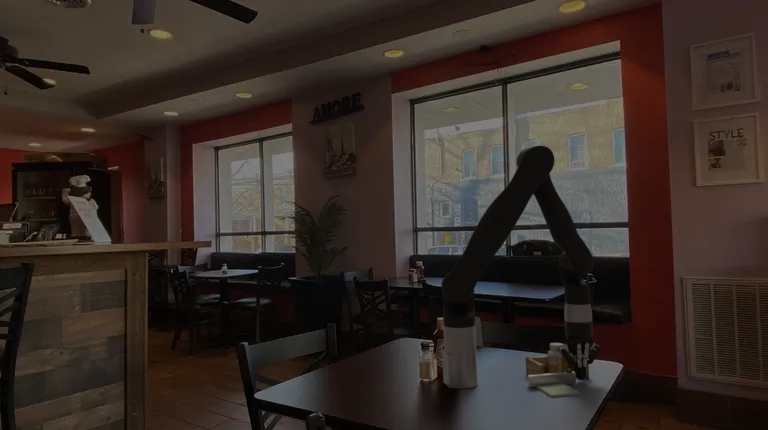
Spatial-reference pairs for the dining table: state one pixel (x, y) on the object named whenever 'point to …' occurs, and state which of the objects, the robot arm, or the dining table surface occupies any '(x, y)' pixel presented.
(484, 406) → the dining table surface
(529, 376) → the bar
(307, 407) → the dining table surface
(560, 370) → the supplement bottle
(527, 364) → the bracket
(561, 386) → the coaster
